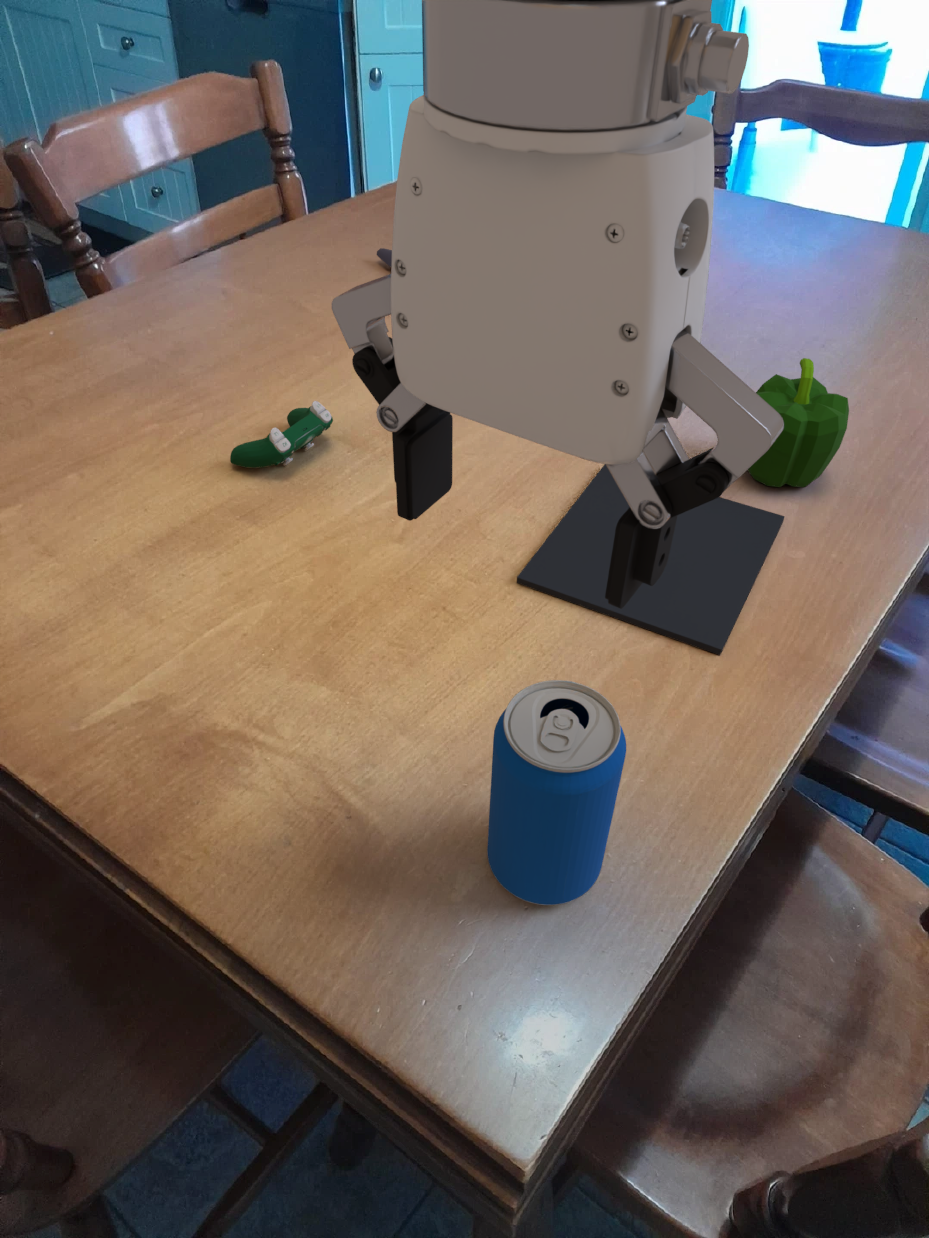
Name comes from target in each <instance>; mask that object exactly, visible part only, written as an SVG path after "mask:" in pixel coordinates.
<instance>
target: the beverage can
mask: <svg viewBox="0 0 929 1238" xmlns="http://www.w3.org/2000/svg"><path fill="white" fill-rule="evenodd" d="M492 739H493V741H492V755H491V756H492V760H491V773H490V775H491V776H490V793H489V809H488V810H489V812H488V828H487V829H488V830H487V849H486V850H487V851H486V852H487V854H486V855H487V860H488V861H487V862H488V864H489V868H490V870H491V872H492V874H493V876H494V878H495V879H496V880H497V882H498V883H499V884H500V886H502V887H503V888H504V889H505V890H506V892H509V893H510V894H512V895H513V896H515V897H516V898H518V899H520V900H522V901H525V902H527V903H531V904H535V905H541V906H556V905H557V906H558V905H563V904H567V903H570V902H572V901H575V900H578V898H581V897H582V896H584V894H586V893H587V892H589V890H590V889H591V888H592V887H593V886H594V885H595V883H596V882H597V880H598V878H599V876H600V873H601V871H602V867H603V862H604V857H605V853H606V848H607V844H608V838H609V835H610V830H611V825H612V822H613V821H612V820H613V816H614V810H615V808H616V807H615V806H616V802H617V797H618V793H619V788H620V783H621V779H622V774H623V770H624V766H625V761H626V756H627V741H626V735H625V733H624V729H623V727H622V725H621V719H620V717H619V714H618V712H617V710H616V708H615V707H614V705H613V704H612V703H611V702H610V701H609V700H608V699H607V697H605V696H604V695H603V694H601V693H600V692H599V691H598V690H596V689H594V688H592V687H590V686H587V685H586V684H582V683H579V682H576V681H572V680H563V679H550V680H543V681H539V682H535V683H533V684H530V685H528V686H526V687H524V688H523V689H521V690H520V691H517V693H516V694H515V695H514V696H513V697H512V698H511V699H510V701H509V702H508V704H507V706H506V708H504V710H503V711H502V713H501V714H500V716H499V717H498V720H497V722H496V723H495V727H494V731H493V738H492Z"/></svg>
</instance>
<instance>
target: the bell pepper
mask: <svg viewBox="0 0 929 1238" xmlns="http://www.w3.org/2000/svg"><path fill="white" fill-rule="evenodd" d="M799 366H800V369H801V372H800V377H798V378H788V377H785V376H782V375H780V374H777V373H776V374H774V375H773V376H771V377H770V378H769V379H767V380H766V381H765V382H764V383H762V384H761V385H760V387H759V388H758V389H757V391H755V392H756V393H757V394H758V395H759V396H760V397H761V398H762V399H763V400H765V401H766V402H767V403H768V404H769V405H770V406H771V407H772V408H774V409H775V410H776V411H777V412H778V413H779V414H780V415H781V417H782V418H783V421H784V428H783V431H782V432H781V434H780V435H779V436H778V438H777V439H776V440H775V441H774V443H773V444H772V445H771V447H770V448H769V449H768V451H767V452H766V453H765V454H764V455H762V456H761V457H760V458H759V459H758V460H757V461H756V462H755V463H754V464H753V465H752V466H751V467H750V468H749V469H748V470H747V472H748V473H749V474H750V476H751V477H752V479H754V480H755V481H757V482H759V483H761V484H763V485H765V486H767V487H775V488H781V487H782V486H785V485H788V486H790V487H794V488H806V487H808V486H809V485H810V484H812V482H815V480H817V479H818V478H819V477H820V476H822V474H823V473H824V471H826V469H827V467H828V466H829V465H830V463H831V462H832V460H833V459H834V457H835V455H836V454H837V452H838V451H839V449H840V447H841V445H842V443H843V440H844V437H845V434H846V431H847V429H848V422H849V416H850V415H849V414H850V407H849V398H848V397H846V396H844V395H841V394H838V393H829V392H828V390H827V387H826V386H825V385H823V384H822V383H821V382H820V381H819V380H818V379H816V377H814V372H815V366H814V361H813V360H812V359H811V358H806V357H803V358H801V359H800V361H799Z"/></svg>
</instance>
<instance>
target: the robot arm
mask: <svg viewBox="0 0 929 1238" xmlns="http://www.w3.org/2000/svg"><path fill="white" fill-rule="evenodd" d="M712 3H713V0H421V35H422V38H421V41H422V90H423V94H422V95H420V96H418V97H416V98H415V99H414V100H413V101H411V103H410V104H409V107H408V110H407V115H406V116H407V117H406V121H405V126H404V131H403V137H402V141H401V149H400V157H399V162H398V163H399V164H398V170H397V179H396V189H395V198H394V208H393V209H394V210H393V221H392V222H393V223H392V242H391V243H392V244H391V250H392V267H390V268H391V271H390V273H389V274H386V275H383V276H380V277H378V278H375V279H373V280H369V281H367V282H364V283H361V284H359V285H356V286H354V287H352V288H350V289H348V290H346V291H344V292H342V293H340V294H339V295H337V296H335V297H333V299H332V300H331V311H332V314H333V316H334V318H335V320H336V322H337V325H338V327H339V330H340V331H341V334H342V336H343V338H344V341H345V343H346V345H347V347H348V349H349V350H352V352H353V356H352V363H351V364H352V367H353V370H354V372H355V373H356V375H357V376H358V378H359V379H360V380H361V382H362V383H363V384H364V386H365V388H366V389H367V390H368V392H369V393H370V395H371V396H372V397H373V399H374V400H375V401H376V403H377V404H378V406H377V408H376V413H375V414H376V419H377V421H378V423H379V424H380V426H381V427H382V428H383V429H384V430H386V431H387V432H390V433H391V436H392V460H393V461H392V462H393V478H394V479H393V480H394V483H395V490H396V513H397V516H398V517H400V518H401V519H403V520H404V519H405V520H407V521H409V522H410V521H413V520H417V519H418V518H420V517H421V516H422V515H423V514H424V513H425V512H426V511H428V510H429V509H430V508H431V507H432V506H433V505H435V504H436V503H437V502H438V501H440V499H442V498H443V497H444V496H445V495H446V494H447V493H449V492H450V491H451V489H452V486H453V437H454V436H453V435H454V433H453V432H454V431H453V429H454V427H453V424H454V423H453V422H454V421H453V420H454V418H453V415H456V416H459V417H461V418H464V419H467V420H470V421H473V422H476V423H479V424H481V425H484V426H486V427H489V428H492V429H495V430H498V431H501V432H504V433H506V434H509V435H512V436H515V437H518V438H521V439H524V440H527V441H530V442H533V443H534V444H537V445H541V446H544V447H546V448H550V449H552V450H555V451H558V452H561V453H564V454H567V455H569V456H573V457H576V458H579V459H582V460H585V461H588V462H593V463H596V464H602V465H604V464H606V466H607V468H608V469H609V471H610V473H611V475H612V476H613V478H614V480H615V482H616V483H617V485H618V487H619V489H620V490H621V492H622V494H623V496H624V497H625V499H626V501H627V503H628V504H629V506H630V508H629V509H628V510H627V511H626V512H625V513H624V514H623V515H622V517H621V518H620V519H619V521H618V523H617V526H616V530H615V537H614V543H613V549H612V555H611V562H610V568H609V574H608V581H607V587H606V593H605V598H606V599H608V604H611V605H613V606H615V607H618V608H620V609H622V608H623V607H624V606H625V605H626V603H627V602H628V601H629V600H630V598H631V597H632V596H633V595H634V593H635V592H636V591H637V589H638V588H639V587H640V586H641V584H642V583H645V584H647V585H650V586H653V585H654V584H655V583H656V582H657V580H658V579H659V578H660V576H661V575H662V573H663V571H664V569H665V567H666V564H667V561H668V558H669V553H670V548H671V544H672V539H673V534H674V530H675V525H676V520H677V516H678V515H679V514H682V513H684V512H686V511H689V510H691V509H693V508H695V507H698V506H700V505H702V504H705V503H707V502H709V501H712V500H714V499H716V498H718V497H722V494H723V493H724V492H725V491H726V490H727V489H728V488H730V486H731V485H733V484H734V483H735V482H736V481H737V480H738V479H740V477H742V476H743V474H744V473H746V472H748V469H749V468H750V467H751V466H752V465H753V464H754V463H755V462H756V461H757V460H758V459H759V458H760V457H761V456H762V455H764V454H765V453H766V452H767V451H768V449H769V448H770V447H771V445H772V444H773V443H774V441H775V440H776V439H777V438H778V436H779V435H780V434H781V432H782V431H783V428H784V421H783V418H782V417H781V415H780V414H779V413H778V412H777V411H776V410H775V409H774V408H772V407H771V406H770V405H769V404H768V403H767V402H766V401H765V400H763V399H762V398H761V397H760V396H759V395H758V394H757V393H756V392H757V391H755V390H754V389H752V388H751V386H749V385H748V384H747V383H746V382H744V381H743V380H742V379H741V378H740V377H739V376H738V375H736V374H735V373H734V372H733V371H732V370H731V369H730V368H729V367H727V365H725V364H724V363H723V362H722V361H721V360H719V358H717V357H716V356H715V354H713V353H712V352H711V351H709V349H708V348H706V347H705V346H704V345H703V344H702V336H703V329H704V323H705V322H704V320H705V312H706V304H707V295H708V285H709V277H710V276H709V275H710V266H711V265H710V264H711V252H712V237H713V221H714V220H713V219H714V201H715V200H714V199H715V141H714V125H713V124H712V123H711V122H710V121H709V120H708V119H706V118H703V117H699V116H696V115H690V114H687V110H688V106H690V105H692V104H694V103H695V101H696V99H697V96H701V97H703V96H705V95H706V94H708V93H709V92H715V93H720V94H721V93H722V94H727V95H731V94H734V93H735V92H736V90H738V88H739V85H740V84H741V82H742V79H743V76H744V73H745V70H746V66H747V61H748V58H749V48H750V42H749V36H748V35H747V33H745V32H736V31H730V30H724V28H723V26H722V25H721V23H715V22H712V11H711V9H712ZM387 316H391V317H390V322H391V336H389V335H388V333H389V328H388V326H387V324H386V323H387V322H386V317H387ZM686 407H687V408H688V409H689V410H690V411H692V412H693V413H694V414H695V416H697V417H699V419H700V420H702V421H703V422H704V423H705V424H706V425H708V427H710V428H711V429H712V430H713V432H714V433H715V435H716V438H717V443H716V444H715V446H714V447H711V448H709V449H707V450H705V451H703V452H701V453H699V454H697V455H694V456H692V457H691V458H689V455H688V454H687V452H686V450H685V449H684V446H683V445H682V442H681V441H680V439H679V438H678V436H677V433H676V432H675V430H674V428H673V427H672V424H671V422H670V421H669V418H673V419H676V420H679V417H680V416H681V415H682V413H683V412H684V410H685V409H686ZM452 414H453V415H452Z"/></svg>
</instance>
